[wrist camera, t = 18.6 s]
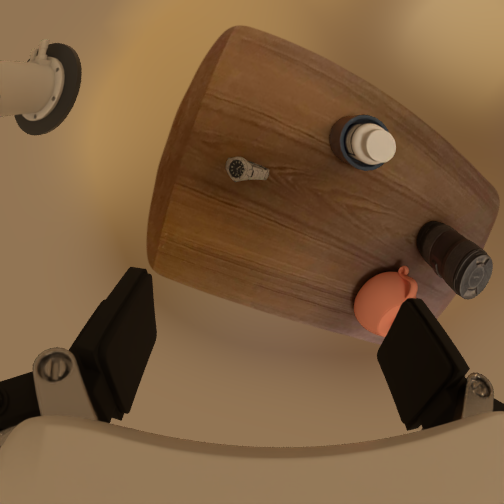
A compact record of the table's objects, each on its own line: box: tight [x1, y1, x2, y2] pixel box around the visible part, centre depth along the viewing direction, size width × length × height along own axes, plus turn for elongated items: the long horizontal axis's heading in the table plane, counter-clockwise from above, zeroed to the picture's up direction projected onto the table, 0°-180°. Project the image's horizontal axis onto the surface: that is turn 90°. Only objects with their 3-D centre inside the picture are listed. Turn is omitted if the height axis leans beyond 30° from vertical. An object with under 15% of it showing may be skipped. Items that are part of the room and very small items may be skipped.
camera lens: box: [417, 221, 493, 299], centre depth 37 cm, size 8×8×15 cm
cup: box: [330, 115, 388, 171], centre depth 35 cm, size 8×8×6 cm
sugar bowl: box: [354, 266, 418, 337], centre depth 44 cm, size 12×14×10 cm
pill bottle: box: [343, 123, 396, 165], centre depth 32 cm, size 5×5×10 cm
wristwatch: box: [226, 157, 269, 182], centre depth 37 cm, size 4×6×5 cm, turn 74°
